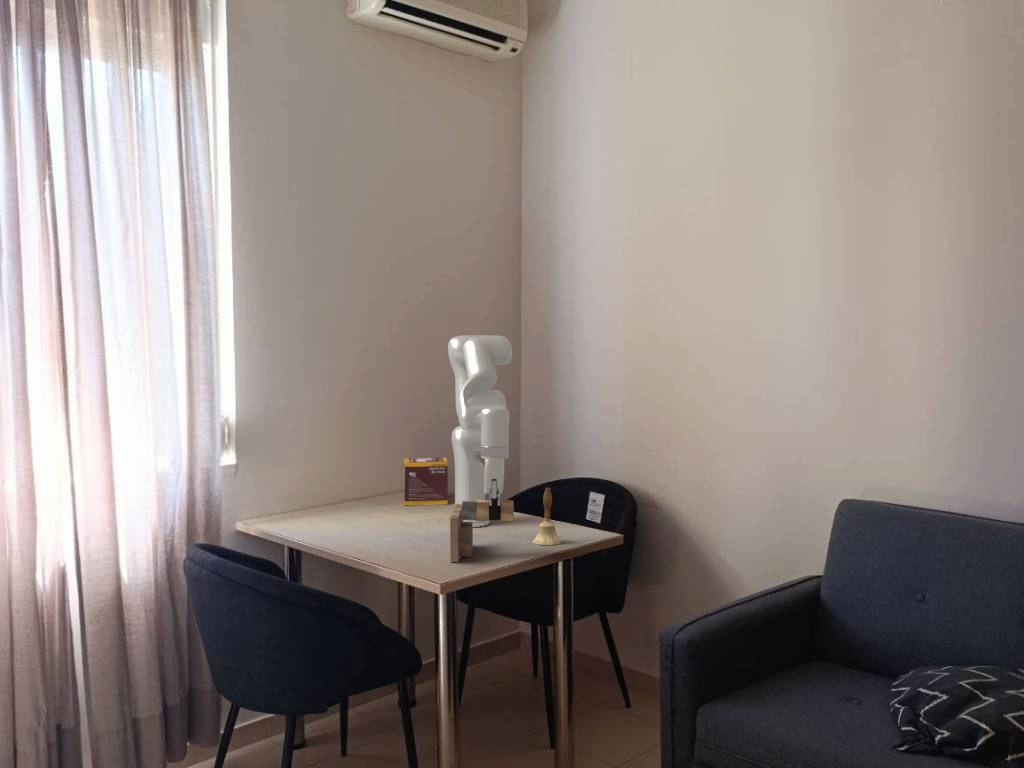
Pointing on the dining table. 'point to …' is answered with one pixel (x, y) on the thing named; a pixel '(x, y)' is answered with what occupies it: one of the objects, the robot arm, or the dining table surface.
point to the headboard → (460, 535)
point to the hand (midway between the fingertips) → (495, 517)
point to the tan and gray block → (486, 510)
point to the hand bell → (547, 524)
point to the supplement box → (425, 481)
